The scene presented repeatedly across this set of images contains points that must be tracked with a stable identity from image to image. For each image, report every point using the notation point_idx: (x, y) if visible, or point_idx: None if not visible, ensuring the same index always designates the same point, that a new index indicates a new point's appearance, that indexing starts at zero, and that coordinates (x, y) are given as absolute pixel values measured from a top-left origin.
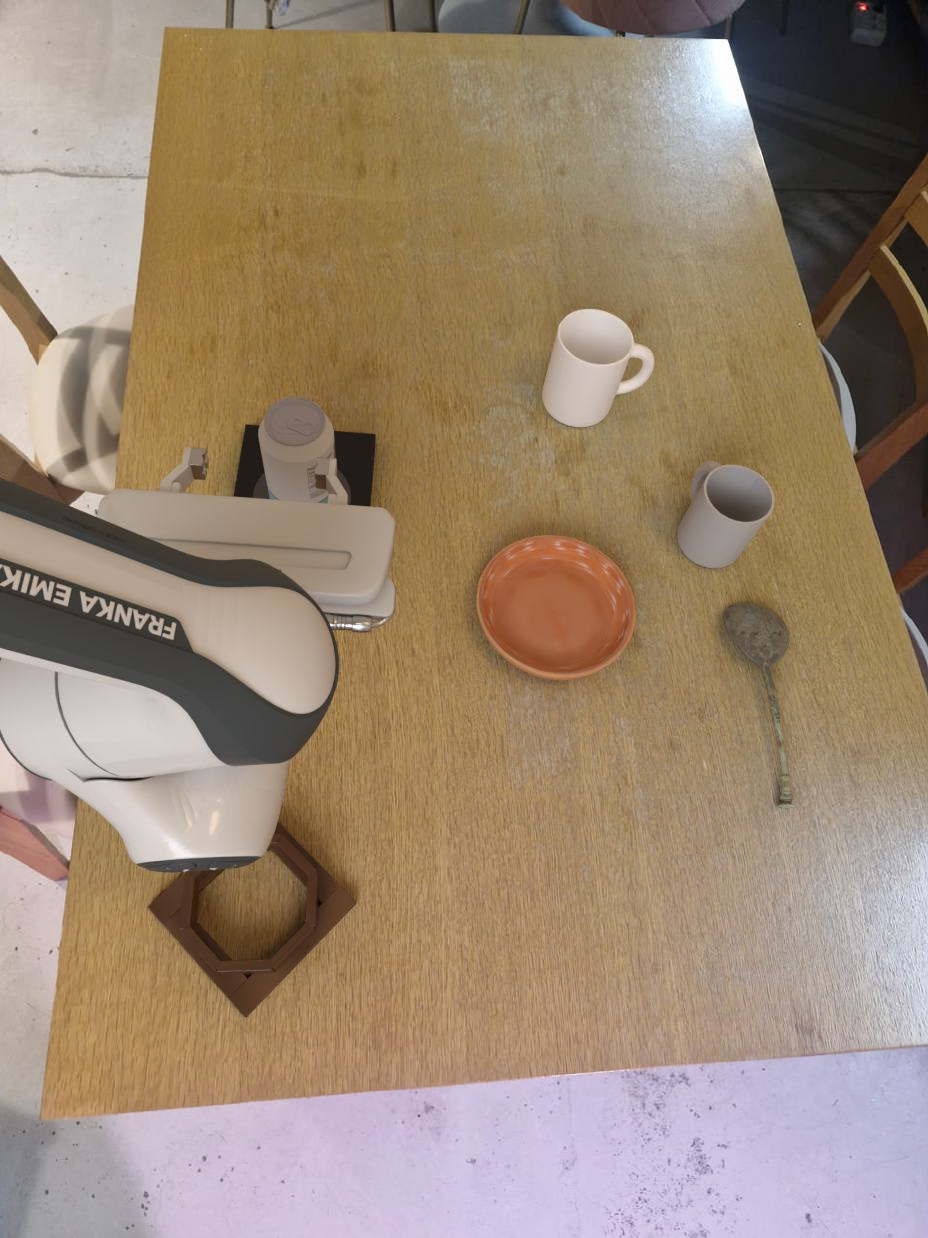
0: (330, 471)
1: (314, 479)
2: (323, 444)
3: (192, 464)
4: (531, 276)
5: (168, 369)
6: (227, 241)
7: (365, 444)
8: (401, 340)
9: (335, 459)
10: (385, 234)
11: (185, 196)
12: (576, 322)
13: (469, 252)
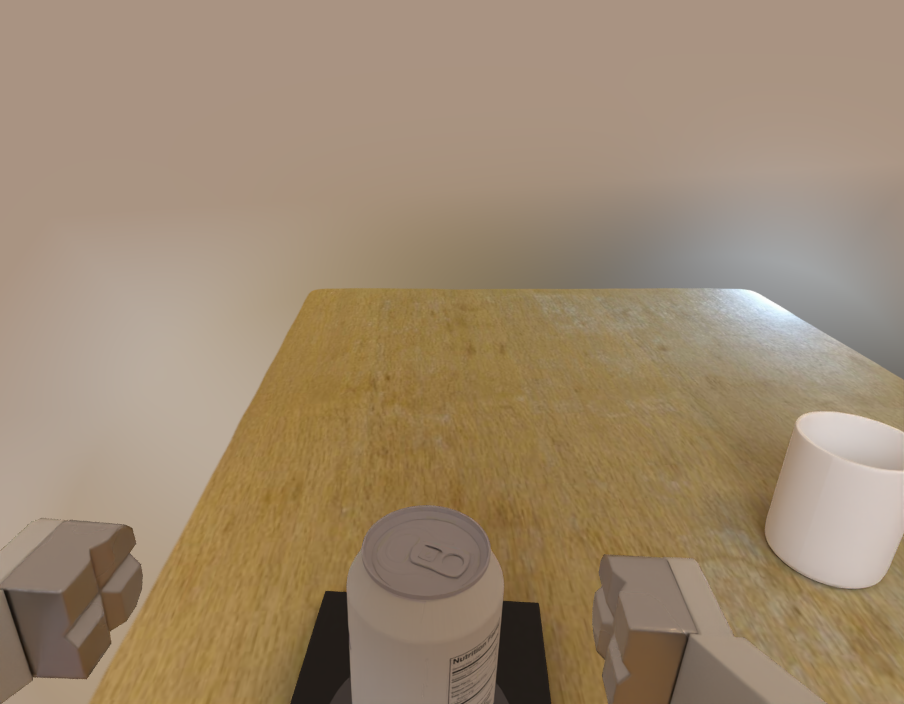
0: (704, 614)
1: (461, 688)
2: (487, 598)
3: (18, 589)
4: (676, 420)
5: (228, 520)
6: (333, 398)
7: (525, 621)
8: (543, 482)
9: (694, 560)
10: (503, 391)
11: (296, 368)
12: (807, 431)
13: (597, 403)
